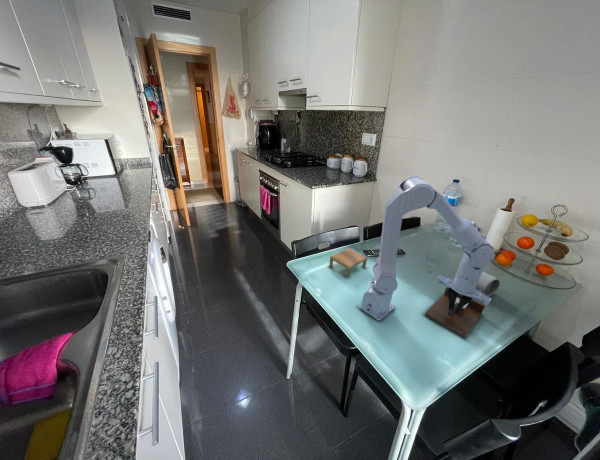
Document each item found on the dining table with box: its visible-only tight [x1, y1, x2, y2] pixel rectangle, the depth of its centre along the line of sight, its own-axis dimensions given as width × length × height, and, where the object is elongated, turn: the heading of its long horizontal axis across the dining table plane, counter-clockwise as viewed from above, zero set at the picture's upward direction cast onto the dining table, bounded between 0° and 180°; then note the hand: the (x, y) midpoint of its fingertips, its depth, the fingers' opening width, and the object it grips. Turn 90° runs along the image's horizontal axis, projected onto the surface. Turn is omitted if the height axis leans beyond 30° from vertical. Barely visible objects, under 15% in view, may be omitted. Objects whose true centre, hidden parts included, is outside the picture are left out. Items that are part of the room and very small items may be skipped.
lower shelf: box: [424, 286, 486, 340], centre depth 82 cm, size 16×12×4 cm
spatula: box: [448, 298, 469, 317], centre depth 81 cm, size 11×4×1 cm, turn 131°
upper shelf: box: [328, 247, 368, 279], centre depth 105 cm, size 12×10×5 cm
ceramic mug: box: [475, 270, 501, 297], centre depth 93 cm, size 11×8×8 cm
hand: (453, 310), depth 80 cm, fingers closed on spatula, 1 cm apart
